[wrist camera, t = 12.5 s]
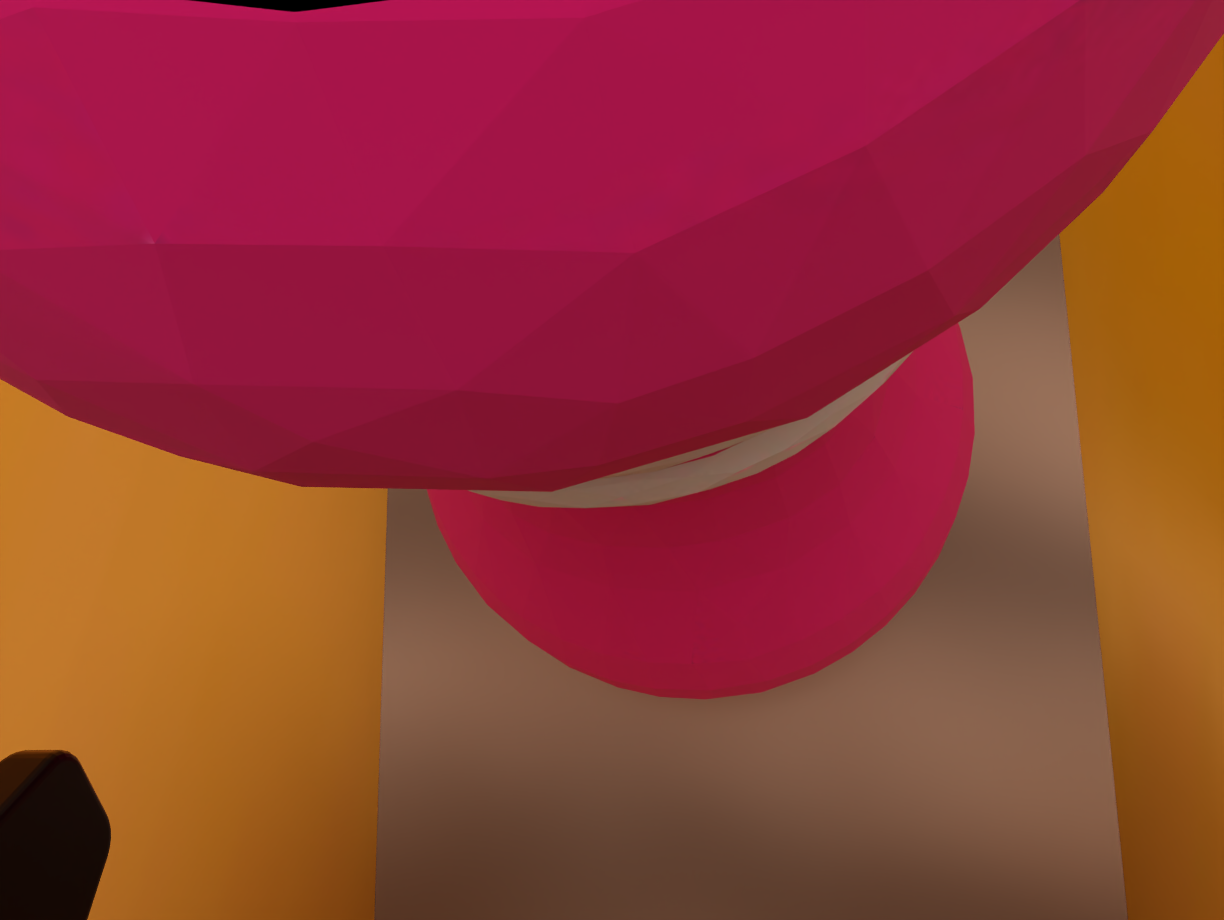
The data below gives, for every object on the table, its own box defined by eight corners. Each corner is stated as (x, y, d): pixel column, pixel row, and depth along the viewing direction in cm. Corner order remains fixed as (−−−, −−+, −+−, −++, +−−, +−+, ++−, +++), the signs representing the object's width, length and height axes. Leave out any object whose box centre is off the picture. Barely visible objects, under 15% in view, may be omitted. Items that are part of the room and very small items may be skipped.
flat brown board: (1111, 967, 18) (1193, 1032, 15) (397, 952, 20) (312, 1007, 16) (1034, 167, 21) (1085, 58, 18) (416, 213, 23) (348, 122, 19)
